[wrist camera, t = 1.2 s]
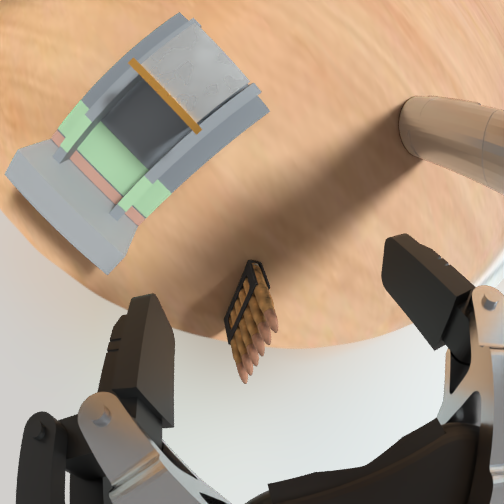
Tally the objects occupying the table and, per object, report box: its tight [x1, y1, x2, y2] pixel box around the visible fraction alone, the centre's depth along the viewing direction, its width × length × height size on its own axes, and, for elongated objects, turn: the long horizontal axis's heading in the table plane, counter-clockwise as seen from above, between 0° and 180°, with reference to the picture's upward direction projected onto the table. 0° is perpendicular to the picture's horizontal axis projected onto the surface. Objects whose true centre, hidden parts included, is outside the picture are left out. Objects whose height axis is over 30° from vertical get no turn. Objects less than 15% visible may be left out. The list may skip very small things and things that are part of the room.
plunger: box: [128, 23, 250, 135], centre depth 20 cm, size 6×8×7 cm
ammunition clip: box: [224, 260, 278, 384], centre depth 33 cm, size 11×2×12 cm, turn 159°
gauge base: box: [5, 12, 270, 275], centre depth 22 cm, size 22×15×8 cm
